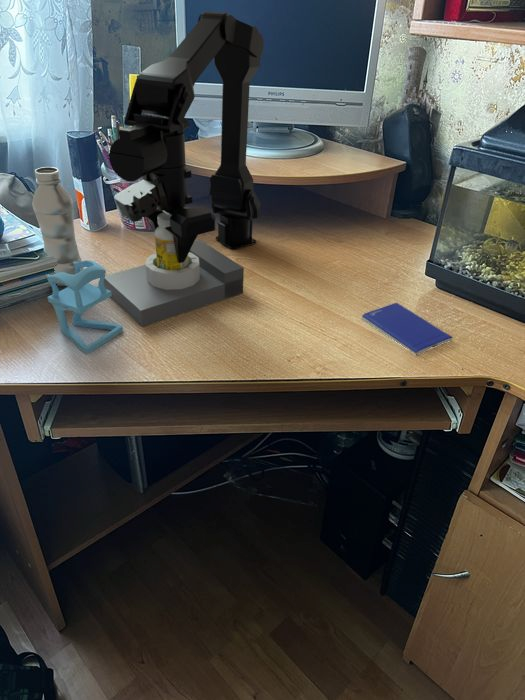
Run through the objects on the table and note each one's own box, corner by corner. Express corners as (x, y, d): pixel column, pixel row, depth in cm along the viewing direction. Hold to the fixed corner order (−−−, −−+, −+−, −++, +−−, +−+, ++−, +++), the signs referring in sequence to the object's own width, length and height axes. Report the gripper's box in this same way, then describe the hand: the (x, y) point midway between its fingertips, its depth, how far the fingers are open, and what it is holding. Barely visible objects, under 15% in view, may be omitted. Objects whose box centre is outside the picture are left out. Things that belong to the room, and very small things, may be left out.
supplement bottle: (191, 274, 93) (189, 221, 88) (159, 278, 92) (155, 223, 86) (185, 261, 97) (183, 209, 92) (155, 264, 96) (151, 211, 90)
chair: (85, 315, 90) (73, 247, 83) (124, 330, 86) (114, 261, 79) (48, 337, 84) (32, 266, 77) (88, 354, 81) (74, 281, 74)
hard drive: (362, 313, 91) (416, 350, 83) (397, 301, 95) (453, 335, 87) (361, 321, 92) (414, 359, 84) (396, 309, 96) (450, 343, 88)
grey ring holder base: (200, 263, 107) (200, 235, 103) (243, 292, 98) (243, 262, 94) (104, 291, 96) (100, 260, 93) (142, 326, 87) (138, 293, 84)
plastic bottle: (74, 270, 102) (55, 161, 91) (92, 283, 99) (75, 171, 87) (41, 280, 99) (17, 168, 87) (59, 294, 95) (37, 179, 83)
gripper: (92, 155, 86) (104, 247, 95) (149, 189, 74) (157, 290, 83) (155, 146, 92) (161, 233, 101) (217, 176, 80) (218, 272, 89)
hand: (172, 255), depth 93 cm, fingers closed on supplement bottle, 5 cm apart
